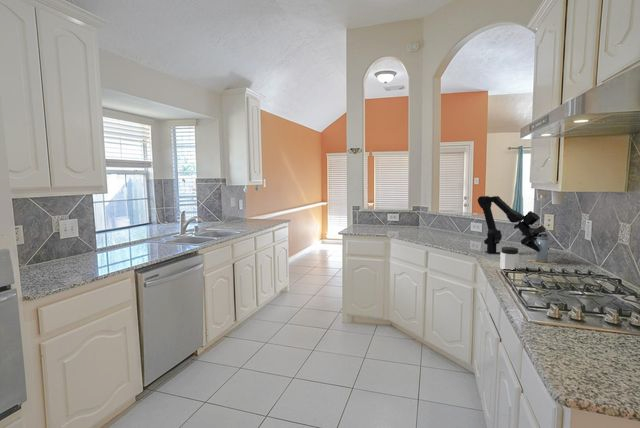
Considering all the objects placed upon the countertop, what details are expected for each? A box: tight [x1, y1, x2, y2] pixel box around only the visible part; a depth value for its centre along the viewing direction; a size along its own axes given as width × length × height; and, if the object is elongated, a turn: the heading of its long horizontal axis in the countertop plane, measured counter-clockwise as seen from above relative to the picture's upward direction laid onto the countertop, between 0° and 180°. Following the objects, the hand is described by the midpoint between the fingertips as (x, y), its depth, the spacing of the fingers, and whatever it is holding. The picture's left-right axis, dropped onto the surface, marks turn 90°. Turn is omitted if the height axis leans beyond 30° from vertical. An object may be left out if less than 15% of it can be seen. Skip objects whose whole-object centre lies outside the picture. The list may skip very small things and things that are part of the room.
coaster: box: [526, 259, 558, 266], centre depth 207 cm, size 12×12×1 cm
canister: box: [535, 235, 550, 263], centre depth 207 cm, size 6×6×16 cm
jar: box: [499, 246, 520, 270], centre depth 194 cm, size 9×8×12 cm
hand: (544, 250), depth 206 cm, fingers open, 9 cm apart
